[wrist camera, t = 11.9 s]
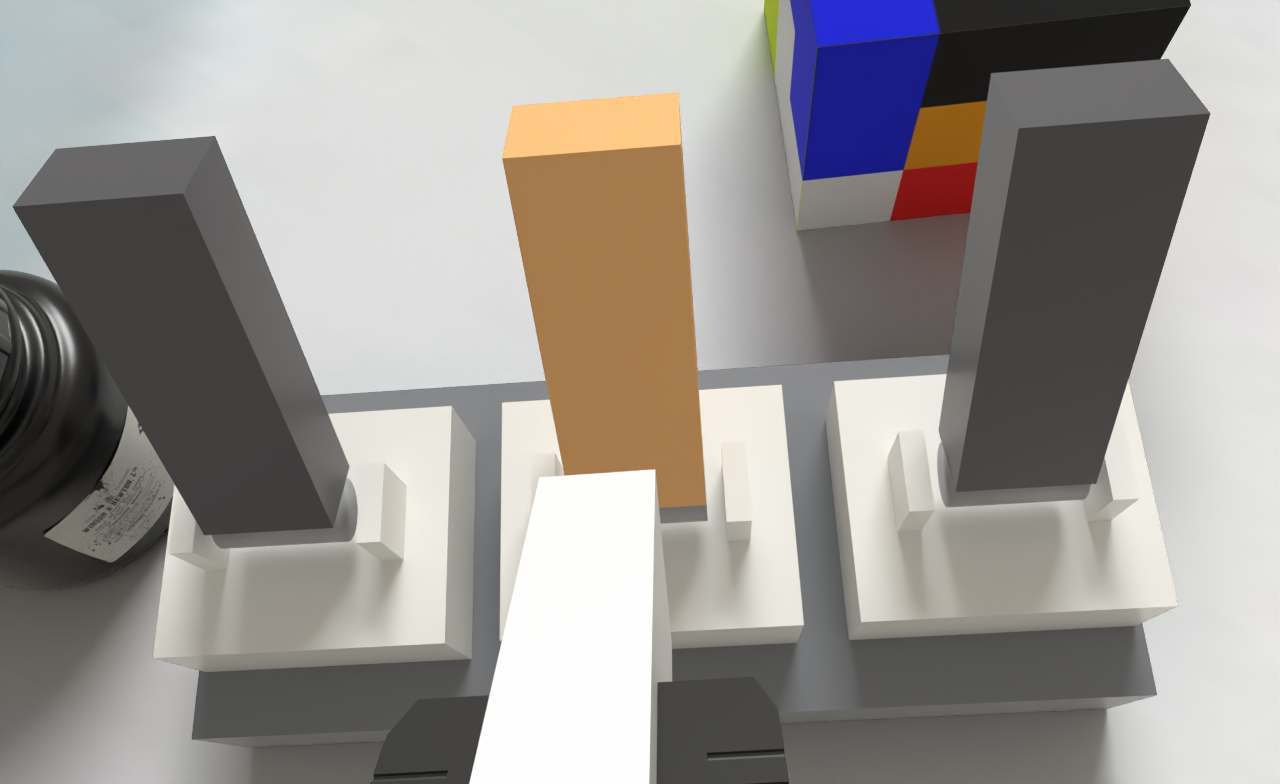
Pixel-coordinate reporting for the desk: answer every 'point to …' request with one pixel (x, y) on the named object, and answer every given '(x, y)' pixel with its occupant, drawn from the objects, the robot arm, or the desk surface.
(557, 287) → the lever
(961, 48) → the puzzle toy
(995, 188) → the block
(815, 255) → the desk surface
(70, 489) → the ink bottle
